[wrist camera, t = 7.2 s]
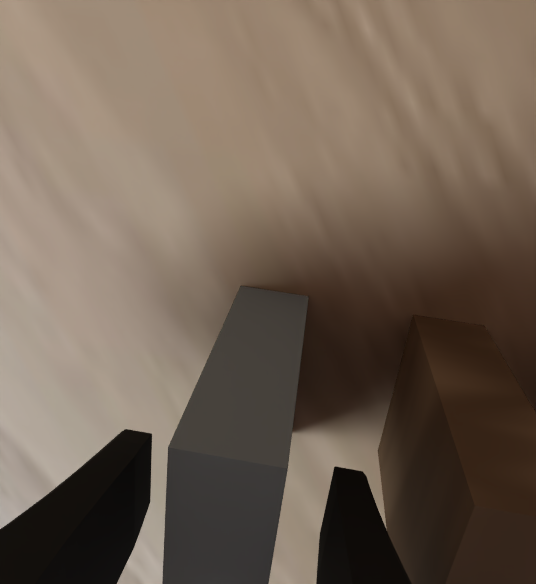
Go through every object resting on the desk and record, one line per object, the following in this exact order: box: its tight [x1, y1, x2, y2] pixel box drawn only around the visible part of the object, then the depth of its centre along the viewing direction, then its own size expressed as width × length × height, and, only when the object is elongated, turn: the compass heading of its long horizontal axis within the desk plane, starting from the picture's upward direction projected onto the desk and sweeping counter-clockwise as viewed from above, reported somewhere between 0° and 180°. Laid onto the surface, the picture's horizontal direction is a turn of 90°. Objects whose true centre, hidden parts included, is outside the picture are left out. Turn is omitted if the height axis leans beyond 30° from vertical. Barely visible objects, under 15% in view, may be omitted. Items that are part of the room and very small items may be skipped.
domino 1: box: [163, 286, 309, 584], centre depth 12 cm, size 2×5×7 cm, turn 173°
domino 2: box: [378, 315, 536, 584], centre depth 12 cm, size 2×5×7 cm, turn 173°
